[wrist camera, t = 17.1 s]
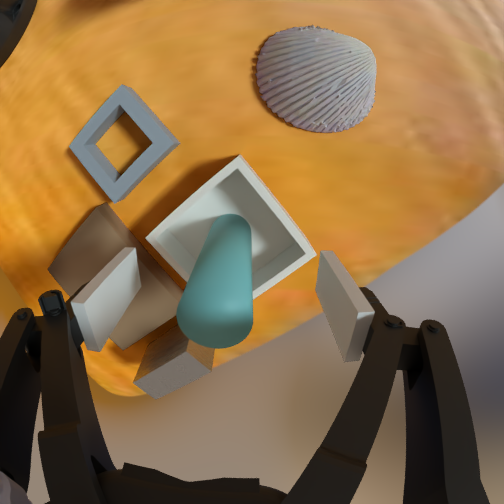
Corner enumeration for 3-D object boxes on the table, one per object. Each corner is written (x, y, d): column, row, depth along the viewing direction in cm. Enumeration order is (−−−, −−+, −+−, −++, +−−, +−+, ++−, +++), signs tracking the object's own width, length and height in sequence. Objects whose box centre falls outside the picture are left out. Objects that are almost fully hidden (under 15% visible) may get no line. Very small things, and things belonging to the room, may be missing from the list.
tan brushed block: (59, 260, 25) (47, 269, 23) (108, 201, 23) (96, 207, 20) (130, 336, 29) (123, 350, 26) (190, 294, 26) (185, 308, 24)
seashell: (415, 99, 16) (330, 153, 16) (377, 108, 22) (299, 157, 22) (346, -4, 13) (241, 28, 13) (318, 22, 18) (229, 59, 18)
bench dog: (148, 344, 28) (132, 382, 23) (197, 310, 26) (186, 351, 21) (167, 360, 29) (155, 399, 24) (217, 329, 27) (211, 371, 22)
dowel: (211, 252, 24) (181, 346, 12) (209, 213, 22) (171, 284, 11) (251, 252, 24) (252, 349, 12) (251, 213, 22) (253, 287, 11)
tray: (158, 224, 23) (145, 237, 20) (240, 154, 21) (238, 155, 18) (226, 296, 26) (224, 318, 23) (307, 238, 24) (316, 254, 20)
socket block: (80, 145, 20) (68, 146, 18) (131, 88, 19) (122, 84, 17) (124, 198, 22) (114, 203, 20) (180, 143, 21) (174, 143, 19)
